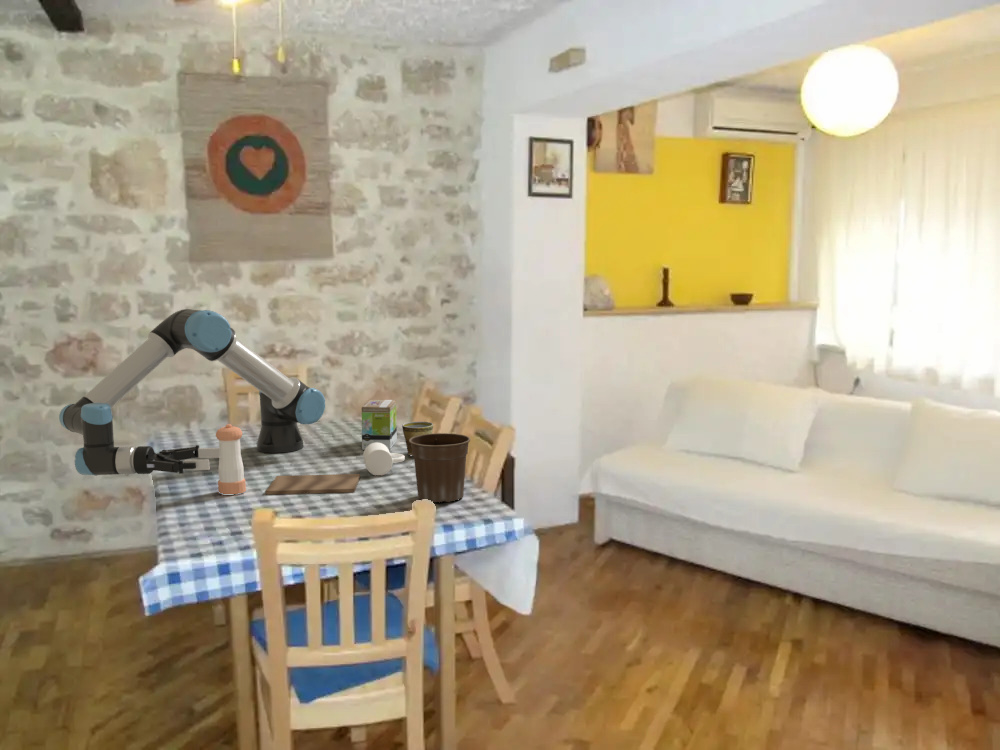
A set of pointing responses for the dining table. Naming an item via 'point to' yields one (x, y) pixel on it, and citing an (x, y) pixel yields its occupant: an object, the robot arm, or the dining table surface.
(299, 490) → the walnut board
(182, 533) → the dining table surface
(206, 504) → the dining table surface
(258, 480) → the dining table surface
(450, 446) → the plant pot
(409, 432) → the ceramic cup
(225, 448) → the pepper shaker
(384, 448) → the mug
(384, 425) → the tea box
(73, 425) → the robot arm
